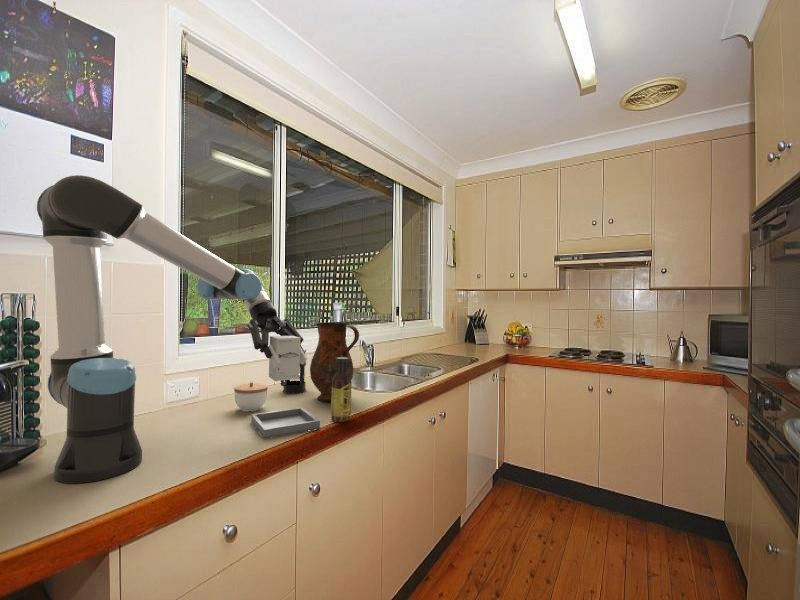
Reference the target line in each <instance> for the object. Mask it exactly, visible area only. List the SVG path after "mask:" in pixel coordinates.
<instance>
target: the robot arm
mask: <svg viewBox="0 0 800 600" xmlns="http://www.w3.org/2000/svg"><path fill="white" fill-rule="evenodd" d="M36 212H37V215H38V217H39V219H40V221H41V222H42V238H43V240H44V241H46V243H49V244H50V246H51V247H52V254H53V256H52V258H53V272H54V276H53V277H54V291H55V292H54V293H55V308H56V310H55V311H56V322H57V338H58V339H57V342H58V343H57V344H58V348H57V350H56V351H55V352H54V353H52V354H51V355H50V356H49V357H50V373H49V376H48V378H47V379H48V380H47V389H48V393H49V395H50V397H51V398H52V399H53V400H54V401H55V402H56V403H57V404H59V405H62V406H63V407H65V408H66V410H67V411H66V413H67V415H66V416H67V417H66V438H65V441H64V443H63V445H62V448H61V450H60V453H59V455H58V457H57V460H56V463H55V465H54V470H53V472H54V474H53V478H54V480H55V481H57V482H59V483H64V484H82V483H90V482H91V483H92V482H96V481H101V480H105V479H106V480H107V479H110V478H114V477H117V476H120V475H123V474H125V473H127V472H130V471H131V470H133V469H135V468H136V467H137V466H139V465H140V464H141V463H142V461H143V449H142V445H141V443H140V441H139V439H138V435H137V433H136V430H135V427H134V426H135V424H134V423H135V421H134V420H135V395H136V380H137V374H136V367H135V365H134V363H133V362H131V361H129V360H127V359H124V358H115V357H114V350H113V348H111V347H109V346H108V345H107V344H106V339H105V338H106V337H105V321H104V320H105V319H104V304H103V302H104V299H103V282H102V264H101V247H102V246H103V245H105V244H106V243H107V242H108V235H109V236H111V237H112V238H115V239H117V240H119V239H125V240H128V241H130V242H132V243H134V244H135V245H137V246H139V247H141V248H142V249H144V250H146V251H148V252H150V253H152V254H154V255H156V256H158V257H159V258H161V259H163V260H164V261H167V262H169V263H171V264H172V265H174V266H176V267H178V268H180V269H182V270H183V271H185V272H187V273H189V274H191V275H193V276H195V277H196V278H198V280H197V293H198V295H199V297H200V298H202V299H208V300H209V299H210V300H214V299H215V300H217V299H218V300H219V299H220V300H241V301H242V302H243V304H244V306H245V308H246V309H247V311H248V313H249V315H250V317H251V319H250V321H249V322H248V323H247V327H248V329H249V331H250V335H251V338H252V343H253V347H254V350H257V351H258V350H259V352H260V353H263V354H264V356H265V358H266V359H268V361H269V360H270V361H271V363H272V365H273V367H274V369H276V368H277V367H278V366H279V364H280V363H281V362H280V360H279V358H278V356H277V355H276V353H275V351H274V349H273V347H272V345H270V344H269V342H270V336H269V334H270V333H275V334H276V335H278V336H296V337H300V363H301V364H304V363H305V361H306V362H307V360H308V357H307V355H306V353H305V354H304V350H305V349H304V348H303V347H302V343H303V342H304V338H303V336H302V335H301V333H299V332H298V331H297V330H296V329H295V328H294V326H293V325H292V324H291V322H290V320H289V319H288V318H286V317H285V318H284V319H281V318H280V317H279V316H278V313H277V309H276V307H275V305H274V304H273V303H272V301H271V299H270V298H269V296H268V294H267V293H266V291H265V288H264V286H263V285H262V284H263V283H262V280H261V278H260V277H259V276H258V275H256V274H255V273H254V271H253V270H251V269H250V268H244V269H242V270H240V269H239V268H237V267H236V266H233V265H232V264H231V263H229V262H227V261H225V260H224V259H222V258H220V257H219V256H217V255H216V254H214V253H212V252H210V251H209V250H207V249H206V248H204V247H202V246H201V245H199V244H198V243H196V242H195V241H193V240H191V239H190V238H188V237H186V236H185V235H183V234H181V233H180V232H178V231H176V230H175V229H173V228H172V227H170V226H168V225H167V224H165V223H164V222H162V221H160V220H159V219H157V218H156V217H154V216H152V215H151V214H150V213H147V212H146V211H145V209H144V206H143V204H141V203H140V202H138V201H136V199H133V198H131V197H130V196H128V195H127V194H125V193H123V192H122V191H121V190H118V189H117V188H116V187H113V186H112V185H110V184H108V183H106V182H104V181H102V180H100V179H98V178H95V177H93V176H87V175H82V174H81V175H79V174H78V175H68V176H66V177H63V178H60V179H59V180H58V181H57V182H55V183H54V184H52V185H50V186H48V187H46V189H44V190H43V191H42V192H41V194H39V197H38V199H37V202H36ZM259 328H260V330H261V331H260V330H259Z"/></svg>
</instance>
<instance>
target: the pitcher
mask: <svg viewBox="0 0 800 600" xmlns="http://www.w3.org/2000/svg"><path fill="white" fill-rule="evenodd" d="M347 324H348V323H347V322H346V321H331V322H327V321H326V322H316V324H315V325H316V328H317V332H318V343H317V346H316V348H315V351H314V354H313V356H312V358H311V361H310V365H309V373H310V375H309V376H310V380H311V382H312V383H313V385H314V386H315V388H316V389H317V390H318V391H319V392H320V393H319V395H318V396H317V397H316V399H317V401H319V402H322V403H329V404H331V398H332V380H333V377H334V375H335V374H336V372H337V371H336V369H337V363H336V358H339V357H347V358H349V363H348V373H349V376H350V379H351V381H352V379H353V378H354V377H353V376H354V369H355V368H354V363H353V359H352V356H351V353H350V351H351V349H352V348H353V347H354V346H355V345H356V344H357V343H358V341H359V340H360V339H359V338H360V331H359V330H358V328H357V327H356V326H354V325H347ZM347 328H349V329H351V330H352V331H353V334H354V338H353V341H352V342H351V343H350V345H349V346H348V345H347V336H346V332H347Z"/></svg>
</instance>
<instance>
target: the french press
mask: <svg viewBox="0 0 800 600" xmlns="http://www.w3.org/2000/svg"><path fill="white" fill-rule="evenodd" d="M303 350H304V354H305V355H306V352H307V349H303ZM306 366H307V360H306V361H305V363H304V364H301V363H300V377H299V380H280V387H283V389H282V392H283V393H285V392H286V394H301V393H304V391H305V392H306V391H307V389H306V384H307V383H306V382H307V381H305V377H306V374H305V372H306V371H305V367H306ZM300 392H301V393H300Z"/></svg>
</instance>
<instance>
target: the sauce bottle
mask: <svg viewBox="0 0 800 600" xmlns="http://www.w3.org/2000/svg"><path fill="white" fill-rule="evenodd" d="M336 363H337V369H336V371H337V372H336V374H335V375H334V377H333V380H332V398H331V403H330V415H331V416H330V417H331V421H332V422H334V423H345V422H348V421H350V419H351V415H352V414H351V413H352V380H351V379H350V376H349V373H348V363H349V358H347V357H339V358H336Z"/></svg>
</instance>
